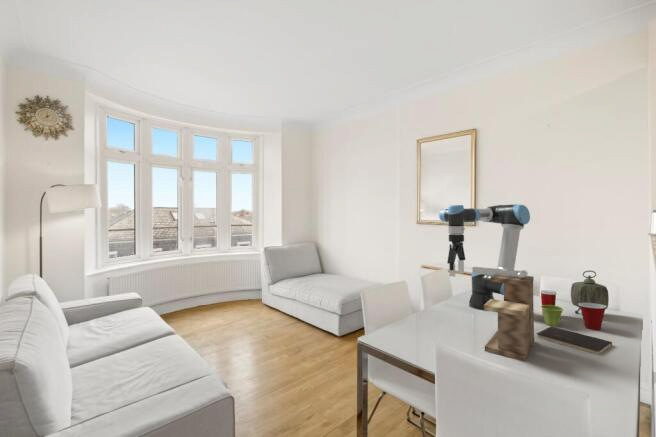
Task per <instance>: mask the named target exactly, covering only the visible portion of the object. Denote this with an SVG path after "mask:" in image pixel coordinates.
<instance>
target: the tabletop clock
mask: <svg viewBox="0 0 656 437" xmlns="http://www.w3.org/2000/svg"><path fill="white" fill-rule="evenodd" d="M590 272H591V273H594V275H593V276H592V275H590V274H589V275H588V276H585V273H590ZM582 276H583V278H585V279H584V280H583V281H576V282H573V283H572V284H571V288H570V299H571V303H572V305H573V306H574V307H577V308H578V309H577V310H574V313H575V314H579V311H581V308H580V306H579V305H578V304H579V303H595V304H601V305H605V306H607V307H606V309H608V307H609V301H610V300H609V296H610V295H609V291H608V288H607V286H606V285H602V284H601V283H596V281H595V280H594V279H593V278H595V277H597V273H596V271H594V270H585V271H584V272H583V273H582ZM606 309H605V310H606Z"/></svg>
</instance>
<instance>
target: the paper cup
mask: <svg viewBox="0 0 656 437" xmlns="http://www.w3.org/2000/svg"><path fill="white" fill-rule="evenodd" d="M539 293H540V300H541V301H540V302H541V306H542V305H553V306H556V303H557V302H556V300H557V298H556V297H557V292H556V290H554V289H552V288H551V289H550V288H542V289H540V290H539ZM541 311H542V312H541V313H542V315H543V316H544V314H543V310H542V309H541Z"/></svg>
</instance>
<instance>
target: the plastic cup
mask: <svg viewBox="0 0 656 437" xmlns="http://www.w3.org/2000/svg"><path fill="white" fill-rule="evenodd" d="M578 305H579V306H580V308H581V309H580V311H581V314H582V319H583V323H584V327H585V328H586V329H588V330H591V331H600V330H601V328H602V324H603V321H604V316H605V311H606V307H607V306H605V305H601V304H595V303H579V304H578Z"/></svg>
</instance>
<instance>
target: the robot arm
mask: <svg viewBox="0 0 656 437" xmlns="http://www.w3.org/2000/svg"><path fill="white" fill-rule="evenodd" d="M438 215H439V220H440V221H441V222H442V223H443V222H444V223H448V241H449V242H451V244H449V250H448V256H447V261H446V262H447V264H449V265H448V266H449V275H448V276H449V277H454V278H456V263H455V262H456V259H457V263H458V264H457V270H458V273H464V272H465V266H464V265H465V263H464V262H465V261H466V254H465V250H464V242H465V235H464V234H465V230H466V229H465V223H475V222H483V223H493V224H500V225H501V227H502V228H503V229H502V230H503V231H502V236H501V242H500V249H499V254H498V255H499V256H498V262H497V266H496V267H495V269H505V270H515V269H516V268H515V265H516V260H517V253H518V247H519V240H520V234H521V230H523V229H524V228H525V225H528V224H529V222H530V221H531V215H530V210H529V209H528V207H527V206H526V205H524V204H516V203H515V204H498V205H497V204H496V205H493V206H492V205H491V206H484V207H481V208H473V207H472V208H465V207H464V205H462V204H452V205H449V206H448V208H443V209H441V210H440V211H439V213H438ZM457 257H458V258H457ZM491 276H493V275H484V274H474V273H473V271H471V295H470V298H469V301H468V302H469V304H468V305H469V307H470V308H473V309H477V310H483V311H484V304H486V303H487V302H488V301H489V300H490V299H495V297H494V295H493V294H498V295H501V296H504V283H499V282H491Z"/></svg>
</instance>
